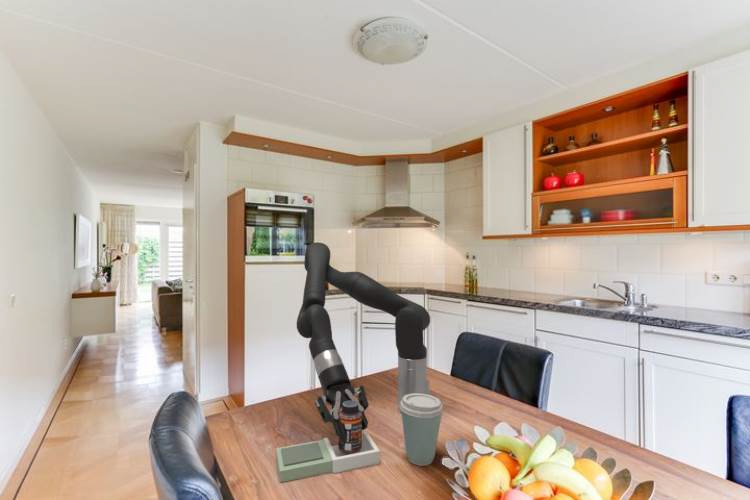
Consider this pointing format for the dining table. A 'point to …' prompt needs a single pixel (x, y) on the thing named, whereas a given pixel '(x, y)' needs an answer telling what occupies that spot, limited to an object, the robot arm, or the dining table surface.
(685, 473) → the dining table surface
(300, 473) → the green rectangular block
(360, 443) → the supplement bottle
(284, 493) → the dining table surface
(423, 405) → the disposable coffee cup
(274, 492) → the dining table surface
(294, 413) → the dining table surface
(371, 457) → the chute bracket
